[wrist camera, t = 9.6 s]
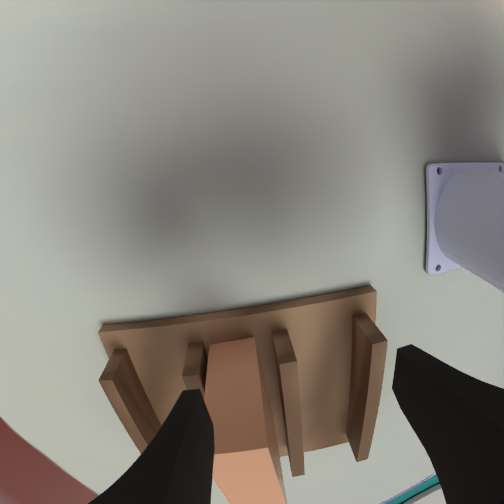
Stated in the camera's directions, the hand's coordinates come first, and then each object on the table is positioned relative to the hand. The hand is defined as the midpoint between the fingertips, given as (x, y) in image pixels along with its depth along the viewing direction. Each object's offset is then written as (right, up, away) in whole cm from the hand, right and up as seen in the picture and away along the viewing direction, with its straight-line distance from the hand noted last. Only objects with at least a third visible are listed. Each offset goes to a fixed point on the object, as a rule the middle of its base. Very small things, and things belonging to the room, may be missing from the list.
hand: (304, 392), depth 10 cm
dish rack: (-2, -6, +12) cm, 14 cm away
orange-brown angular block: (-2, -5, +11) cm, 12 cm away
